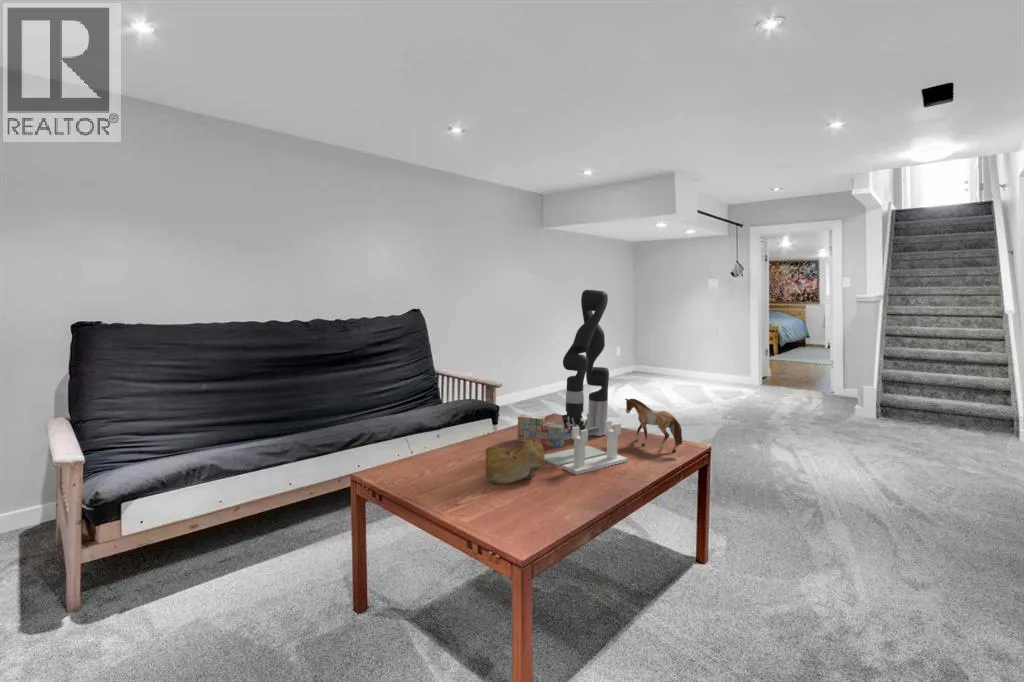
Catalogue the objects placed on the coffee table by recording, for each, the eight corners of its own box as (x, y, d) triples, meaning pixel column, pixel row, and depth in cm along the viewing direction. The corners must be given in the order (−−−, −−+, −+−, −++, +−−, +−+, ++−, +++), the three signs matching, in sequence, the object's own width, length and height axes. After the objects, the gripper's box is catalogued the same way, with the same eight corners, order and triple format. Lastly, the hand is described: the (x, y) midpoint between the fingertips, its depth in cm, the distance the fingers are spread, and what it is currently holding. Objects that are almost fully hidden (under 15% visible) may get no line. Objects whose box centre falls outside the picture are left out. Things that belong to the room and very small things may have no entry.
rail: (551, 443, 212) (552, 436, 211) (547, 440, 215) (548, 433, 214) (598, 434, 227) (599, 427, 226) (593, 431, 229) (594, 425, 229)
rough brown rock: (532, 468, 208) (530, 431, 208) (549, 479, 193) (547, 439, 192) (476, 477, 200) (474, 438, 200) (489, 489, 185) (487, 447, 184)
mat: (538, 457, 219) (538, 456, 219) (587, 446, 234) (587, 445, 234) (556, 465, 209) (556, 464, 209) (606, 453, 224) (606, 452, 224)
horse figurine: (622, 440, 245) (623, 397, 242) (632, 437, 249) (633, 395, 247) (680, 457, 221) (682, 410, 218) (690, 454, 225) (692, 407, 223)
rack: (562, 468, 206) (563, 428, 204) (613, 456, 221) (614, 418, 219) (576, 474, 199) (577, 433, 197) (627, 461, 215) (628, 422, 213)
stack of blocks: (565, 444, 238) (565, 418, 237) (560, 448, 233) (561, 421, 231) (522, 438, 247) (522, 413, 246) (517, 441, 242) (517, 415, 240)
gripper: (592, 402, 215) (591, 443, 217) (570, 397, 227) (569, 435, 229) (579, 405, 211) (578, 446, 213) (557, 398, 223) (556, 438, 224)
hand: (573, 440), depth 221 cm, fingers closed on rail, 3 cm apart
